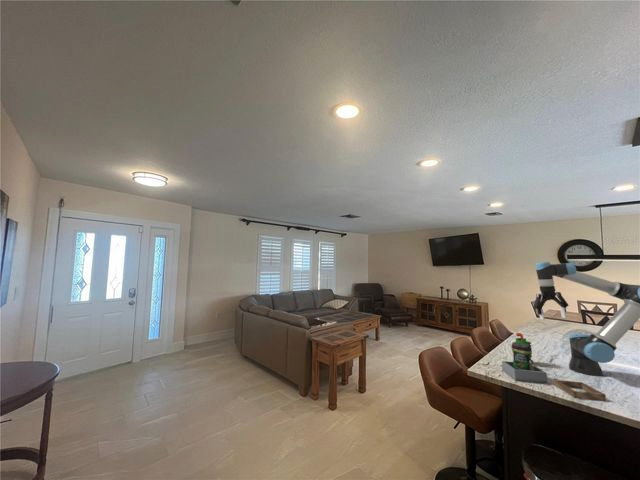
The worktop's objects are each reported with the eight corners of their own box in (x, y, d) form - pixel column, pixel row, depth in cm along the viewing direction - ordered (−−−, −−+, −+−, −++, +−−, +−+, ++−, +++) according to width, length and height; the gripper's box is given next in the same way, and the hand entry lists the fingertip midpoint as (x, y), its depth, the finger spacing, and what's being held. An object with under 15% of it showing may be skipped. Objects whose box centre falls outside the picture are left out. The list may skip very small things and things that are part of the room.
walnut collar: (582, 387, 140) (581, 382, 140) (606, 401, 125) (605, 394, 126) (554, 385, 143) (554, 379, 143) (574, 397, 128) (574, 391, 129)
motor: (537, 366, 173) (534, 335, 176) (522, 364, 175) (519, 334, 178) (528, 361, 183) (525, 332, 186) (514, 360, 185) (511, 331, 187)
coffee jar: (511, 373, 156) (509, 342, 158) (516, 371, 161) (513, 340, 163) (531, 379, 148) (528, 345, 151) (535, 376, 153) (532, 343, 155)
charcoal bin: (531, 373, 160) (530, 363, 161) (547, 383, 145) (546, 372, 146) (502, 370, 164) (501, 360, 164) (515, 380, 148) (514, 369, 149)
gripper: (561, 283, 171) (568, 315, 169) (523, 287, 172) (529, 319, 170) (571, 284, 164) (578, 317, 161) (531, 287, 165) (538, 321, 162)
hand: (553, 318), depth 165 cm, fingers open, 13 cm apart
